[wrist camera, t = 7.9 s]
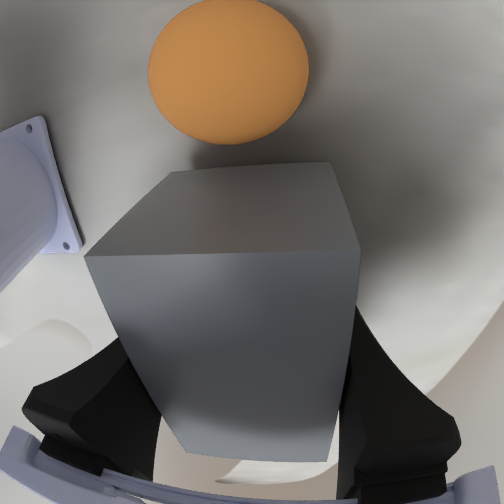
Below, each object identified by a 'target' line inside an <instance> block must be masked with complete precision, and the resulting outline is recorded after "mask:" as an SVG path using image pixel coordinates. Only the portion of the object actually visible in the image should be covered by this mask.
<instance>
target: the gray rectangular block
mask: <svg viewBox="0 0 504 504" xmlns="http://www.w3.org/2000/svg"><path fill="white" fill-rule="evenodd" d="M84 259H85V262H86V264H87V267H88V269H89V272H90V274H91V277H92V279H93V282H94V284H95V286H96V289H97V291H98V294H99V296H100V298H101V300H102V303H103V305H104V307H105V309H106V312H107V314H108V316H109V318H110V320H111V322H112V325H113V327H114V329H115V331H116V333H117V335H118V337H119V339H120V341H121V343H122V345H123V347H124V349H125V351H126V353H127V355H128V357H129V359H130V361H131V362H132V364H133V366H134V368H135V370H136V372H137V374H138V375H139V377H140V379H141V381H142V383H143V384H144V386H145V388H146V390H147V391H148V393H149V395H150V397H151V398H152V400H153V402H154V403H155V405H156V407H157V408H158V410H159V412H160V413H161V415H162V416H163V418H164V419H165V421H166V423H167V424H168V426H169V427H170V429H171V430H172V432H173V434H174V435H175V437H176V438H177V439H178V441H179V443H180V444H181V446H182V447H183V449H184V450H185V451H186V453H192V454H199V455H206V456H214V457H222V458H232V459H242V460H255V461H274V462H327V458H328V454H329V450H330V446H331V442H332V438H333V433H334V429H335V425H336V420H337V415H338V411H339V406H340V401H341V396H342V391H343V385H344V380H345V374H346V368H347V363H348V356H349V350H350V344H351V337H352V330H353V323H354V315H355V307H356V299H357V290H358V280H359V270H360V259H361V248H360V245H359V242H358V238H357V235H356V232H355V229H354V226H353V223H352V220H351V217H350V214H349V211H348V208H347V205H346V203H345V200H344V197H343V194H342V191H341V189H340V186H339V183H338V180H337V178H336V175H335V172H334V170H333V167H332V164H331V162H305V163H280V164H261V165H245V166H232V167H219V168H208V169H197V170H187V171H178V172H171V173H170V174H169V175H168V176H167V177H165V178H164V179H163V180H162V181H161V182H160V183H159V184H158V185H156V186H155V187H154V188H153V189H152V190H151V191H150V192H149V193H148V194H147V195H145V196H144V197H143V198H142V199H141V200H140V201H139V202H138V203H137V204H136V205H135V206H134V207H133V208H132V209H130V210H129V211H128V212H127V213H126V214H125V215H124V216H123V217H122V218H121V219H120V220H119V221H118V222H117V223H116V224H115V225H114V226H113V227H112V228H111V229H110V230H109V231H108V232H107V233H106V234H105V235H104V236H103V237H102V238H101V239H100V240H99V241H98V242H97V243H96V244H95V245H94V246H93V247H92V248H91V249H90V250H89V251H88V252H87V253H86V255H85V256H84Z"/></svg>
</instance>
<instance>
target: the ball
mask: <svg viewBox="0 0 504 504" xmlns="http://www.w3.org/2000/svg"><path fill="white" fill-rule="evenodd" d="M148 75H149V85H150V90H151V93H152V95H153V98H154V101H155V103H156V105H157V107H158V108H159V110H160V111H161V113H162V114H163V115H164V117H165V118H166V119H167V120H168V121H169V122H170V123H171V124H172V125H173V126H174V127H175V128H177V129H178V130H180V131H181V132H183V133H184V134H186V135H188V136H190V137H192V138H194V139H197V140H200V141H203V142H207V143H212V144H219V145H236V144H243V143H247V142H251V141H254V140H257V139H259V138H262V137H264V136H266V135H268V134H270V133H272V132H273V131H275V130H276V129H278V128H279V127H280V126H281V125H282V124H284V123H285V122H286V121H287V120H288V119H289V118H290V117H291V116H292V115H293V113H294V112H295V110H296V109H297V107H298V106H299V104H300V102H301V100H302V98H303V96H304V93H305V90H306V87H307V84H308V77H309V61H308V56H307V51H306V48H305V46H304V43H303V40H302V39H301V37H300V35H299V33H298V31H297V30H296V29H295V27H294V26H293V25H292V24H291V23H290V22H289V21H288V20H287V19H286V18H285V17H284V16H283V15H282V14H280V13H279V12H278V11H276V10H275V9H273V8H272V7H270V6H268V5H266V4H264V3H261V2H259V1H256V0H205V1H202V2H199V3H197V4H194V5H192V6H190V7H188V8H187V9H185V10H183V11H182V12H181V13H179V14H178V15H177V16H175V17H174V18H173V19H172V20H171V21H170V22H169V23H168V24H167V25H166V26H165V28H164V29H163V30H162V32H161V33H160V35H159V36H158V38H157V40H156V42H155V44H154V46H153V49H152V52H151V56H150V59H149V67H148Z"/></svg>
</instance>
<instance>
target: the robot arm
mask: <svg viewBox="0 0 504 504" xmlns="http://www.w3.org/2000/svg"><path fill="white" fill-rule="evenodd" d="M31 126H32V130H31ZM67 243H68V244H69V245H68V244H67ZM81 248H82V241H81V239H80V236H79V233H78V231H77V228H76V225H75V222H74V219H73V217H72V214H71V211H70V208H69V205H68V202H67V199H66V196H65V192H64V189H63V186H62V183H61V179H60V176H59V173H58V169H57V166H56V162H55V158H54V155H53V151H52V147H51V143H50V139H49V135H48V131H47V126H46V122H45V120H44V118H43V117H42V116H36V117H33V118H31V119H29V120H26V121H24V122H22V123H19V124H17V125H15V126H13V127H11V128H9V129H6V130H4V131H2V132H0V293H1V292H2V291H3V290H4V289H5V287H6V286H7V285H8V284H9V283H10V282H11V281H12V280H13V279H14V278H15V277H16V276H17V274H18V273H19V272H20V271H21V270H22V269H23V268H24V267H25V266H26V265H27V264H28V263H29V262H30V261H31V260H32V259H33V258H34V257H35V256H36V255H37V254H54V253H77V252H79V251H80V249H81ZM22 412H23V414H24V415H25V417H26V418H27V419H28V420H29V421H30V422H31V423H32V424H33V425H34V426H35V427H37V428H38V429H39V430H40V431H41V432H42V433H43V434H45V436H44V439H43V440H42V443H41V442H40V441H39V440H38V439H37V438H36V437H35V436H33V435H32V434H30V433H29V432H27V431H25V430H23V429H21V428H19V427H17V426H13V427H12V429H11V431H10V433H9V435H8V437H7V439H6V441H5V443H4V445H3V447H2V449H1V451H0V471H1V472H3V473H4V474H5V475H7V476H8V477H10V478H12V479H13V480H15V481H16V482H18V483H19V484H21V485H23V486H24V487H26V488H28V489H29V490H31V491H33V492H34V493H36V494H38V495H39V496H41V497H43V498H45V499H47V500H48V501H51V502H52V503H54V504H146V503H144V502H143V501H142V500H141V499H139V498H136V497H134V496H137V497H140V498H144V499H148V500H151V501H156V502H160V503H163V504H500V497H499V490H498V484H497V479H496V473H495V468H494V466H492V465H491V466H488V467H485V468H482V469H479V470H476V471H472V472H469V473H466V474H464V475H461V476H460V477H458V478H457V479H456V480H455V481H454V482H451V483H448V484H446V478H445V473H446V472H447V470H448V468H447V461H448V460H449V459H450V458H451V457H452V456H453V455H454V454H455V453H456V452H457V451H458V449H459V448H460V446H461V438H460V433H459V430H458V427H457V425H456V422H455V420H454V417H452V416H451V415H449V414H448V413H447V412H445V411H444V410H442V409H441V408H440V407H438V406H437V405H436V404H434V403H433V402H432V401H431V400H430V399H428V398H427V397H426V396H425V395H424V394H423V393H422V392H421V391H420V390H419V389H418V388H417V387H416V386H415V385H414V384H413V383H411V382H410V381H409V380H408V379H407V378H406V376H405V375H404V374H403V373H402V372H401V371H400V370H399V369H398V367H397V366H396V365H395V364H394V363H393V362H392V360H391V359H390V358H389V356H388V355H387V354H386V353H385V351H384V350H383V348H382V347H381V346H380V344H379V343H378V341H377V340H376V338H375V337H374V335H373V334H372V332H371V331H370V329H369V327H368V326H367V324H366V322H365V321H364V319H363V317H362V315H361V314H360V312H359V310H358V308H357V306H356V307H355V315H354V323H353V330H352V337H351V344H350V350H349V356H348V363H347V368H346V374H345V380H344V385H343V391H342V396H341V401H340V406H339V462H338V481H337V494H336V500H319V501H289V500H266V499H252V498H240V497H232V496H223V495H217V494H210V493H203V492H197V491H192V490H186V489H181V488H176V487H171V486H167V485H162V484H158V483H154V482H153V469H154V458H155V450H156V443H157V437H158V431H159V426H160V421H161V416H162V415H161V413H160V412H159V410H158V408H157V407H156V405H155V403H154V402H153V400H152V398H151V397H150V395H149V393H148V391H147V390H146V388H145V386H144V384H143V383H142V381H141V379H140V377H139V375H138V374H137V372H136V370H135V368H134V366H133V364H132V362H131V361H130V359H129V357H128V355H127V353H126V351H125V349H124V347H123V345H122V343H121V341H120V339H119V337H118V338H116V339H115V340H114V341H113V342H112V343H111V344H109V345H108V346H107V347H105V348H104V349H103V350H101V351H100V352H99V353H97V354H96V355H95V356H93V357H92V358H90V359H89V360H87V361H85V362H84V363H82V364H81V365H79V366H77V367H76V368H74V369H72V370H70V371H68V372H67V373H65V374H63V375H61V376H59V377H57V378H54V379H52V380H50V381H48V382H45V383H43V384H40V385H38V386H35V387H33V389H32V391H31V393H30V394H29V396H28V398H27V400H26V402H25V403H24V405H23V407H22ZM126 493H127V494H126ZM129 494H130V495H129ZM131 495H134V496H131Z"/></svg>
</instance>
